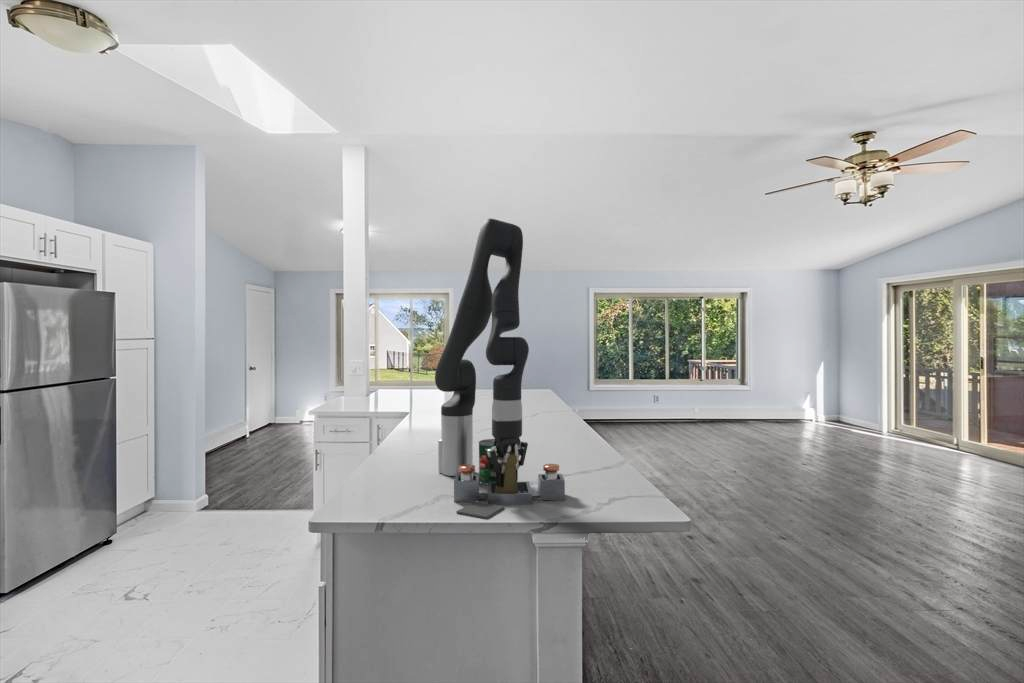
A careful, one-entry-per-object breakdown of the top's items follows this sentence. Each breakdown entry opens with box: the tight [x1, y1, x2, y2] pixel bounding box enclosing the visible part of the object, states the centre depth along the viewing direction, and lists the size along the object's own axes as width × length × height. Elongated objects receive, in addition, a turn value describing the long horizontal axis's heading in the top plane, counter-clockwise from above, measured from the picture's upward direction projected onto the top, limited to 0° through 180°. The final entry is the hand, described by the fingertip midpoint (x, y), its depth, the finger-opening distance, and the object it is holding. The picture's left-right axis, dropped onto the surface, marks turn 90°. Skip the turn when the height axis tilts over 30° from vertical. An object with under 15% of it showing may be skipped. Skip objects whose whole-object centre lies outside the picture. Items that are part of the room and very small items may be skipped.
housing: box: [453, 473, 566, 505], centre depth 134 cm, size 27×11×5 cm, turn 92°
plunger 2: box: [542, 463, 560, 480], centre depth 134 cm, size 4×4×7 cm
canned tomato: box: [478, 438, 496, 485], centre depth 149 cm, size 8×8×11 cm
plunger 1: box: [459, 464, 476, 480], centre depth 133 cm, size 4×4×7 cm
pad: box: [456, 501, 505, 520], centre depth 124 cm, size 8×8×1 cm
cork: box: [494, 453, 519, 493], centre depth 133 cm, size 6×6×11 cm
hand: (506, 485), depth 133 cm, fingers closed on cork, 3 cm apart
